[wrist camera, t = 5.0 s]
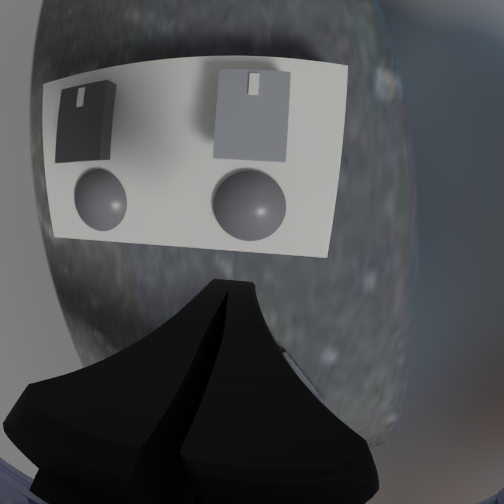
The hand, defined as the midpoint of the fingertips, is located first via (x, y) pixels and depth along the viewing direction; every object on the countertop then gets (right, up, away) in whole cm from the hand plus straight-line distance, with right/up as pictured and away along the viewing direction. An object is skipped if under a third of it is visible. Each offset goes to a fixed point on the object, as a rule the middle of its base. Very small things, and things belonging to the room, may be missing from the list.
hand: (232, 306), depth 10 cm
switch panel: (-3, +8, +7) cm, 11 cm away
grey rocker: (+1, +8, +2) cm, 8 cm away
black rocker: (-8, +8, +3) cm, 12 cm away
